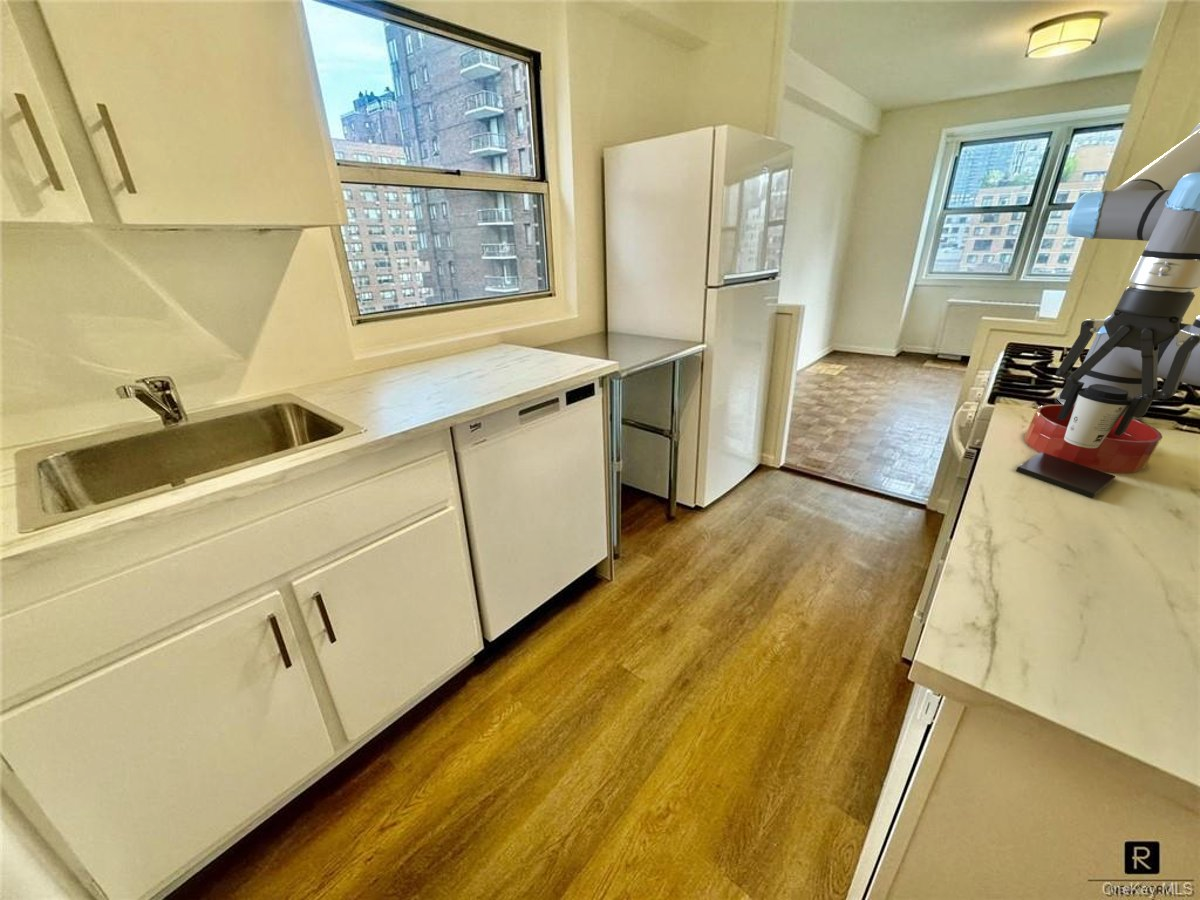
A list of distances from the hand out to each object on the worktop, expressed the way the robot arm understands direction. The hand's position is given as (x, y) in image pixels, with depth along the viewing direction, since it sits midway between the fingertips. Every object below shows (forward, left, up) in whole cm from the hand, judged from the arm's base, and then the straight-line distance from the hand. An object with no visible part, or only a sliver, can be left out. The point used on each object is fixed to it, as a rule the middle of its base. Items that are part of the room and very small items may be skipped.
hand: (1089, 424), depth 84 cm
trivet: (0, 0, -10) cm, 10 cm away
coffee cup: (0, 0, -4) cm, 4 cm away
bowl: (-16, -2, -10) cm, 19 cm away
